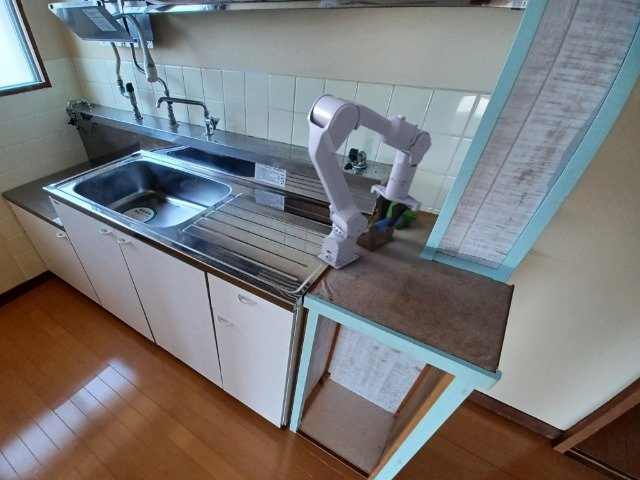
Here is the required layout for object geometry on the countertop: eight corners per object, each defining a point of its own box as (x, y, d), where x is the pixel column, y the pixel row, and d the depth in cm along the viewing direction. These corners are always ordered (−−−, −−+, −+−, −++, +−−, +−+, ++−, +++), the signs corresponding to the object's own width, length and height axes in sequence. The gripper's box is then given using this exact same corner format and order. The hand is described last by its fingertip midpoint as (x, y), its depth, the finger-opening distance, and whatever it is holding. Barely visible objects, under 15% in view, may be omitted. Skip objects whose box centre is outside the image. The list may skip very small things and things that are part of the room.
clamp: (401, 238, 112) (419, 222, 104) (386, 234, 111) (402, 218, 103) (400, 210, 117) (417, 193, 108) (385, 206, 116) (401, 189, 108)
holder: (369, 251, 99) (374, 234, 95) (351, 241, 103) (356, 224, 99) (391, 239, 104) (397, 222, 100) (373, 230, 108) (378, 214, 104)
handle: (375, 237, 93) (379, 228, 91) (367, 231, 94) (370, 223, 92) (401, 224, 98) (405, 216, 95) (393, 219, 99) (397, 210, 97)
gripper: (435, 183, 83) (416, 229, 92) (387, 166, 91) (375, 210, 101) (418, 190, 80) (401, 237, 89) (371, 172, 89) (359, 216, 98)
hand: (386, 223), depth 95 cm, fingers closed on handle, 3 cm apart
